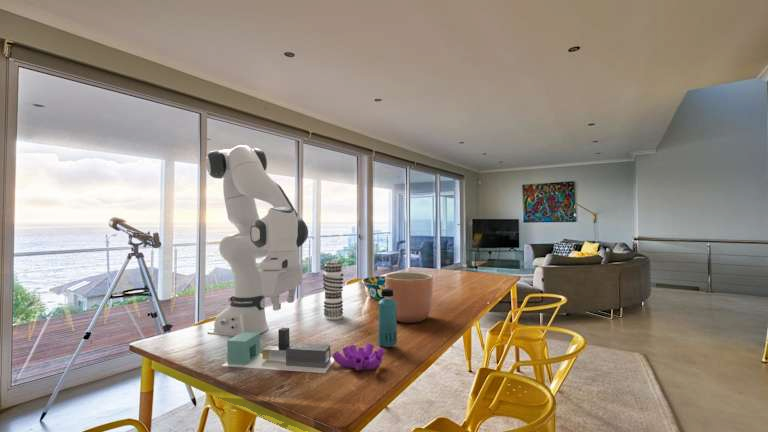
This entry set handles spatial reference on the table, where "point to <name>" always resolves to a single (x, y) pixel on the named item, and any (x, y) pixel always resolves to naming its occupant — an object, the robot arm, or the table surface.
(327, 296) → the decorative candle
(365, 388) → the table surface
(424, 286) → the planter
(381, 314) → the beverage bottle
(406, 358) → the table surface
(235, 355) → the socket block
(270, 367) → the mounting board
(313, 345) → the outer sleeve
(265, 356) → the sliding bolt
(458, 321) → the table surface
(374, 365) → the purple coral
